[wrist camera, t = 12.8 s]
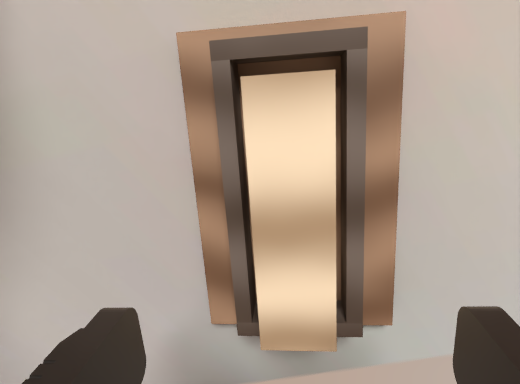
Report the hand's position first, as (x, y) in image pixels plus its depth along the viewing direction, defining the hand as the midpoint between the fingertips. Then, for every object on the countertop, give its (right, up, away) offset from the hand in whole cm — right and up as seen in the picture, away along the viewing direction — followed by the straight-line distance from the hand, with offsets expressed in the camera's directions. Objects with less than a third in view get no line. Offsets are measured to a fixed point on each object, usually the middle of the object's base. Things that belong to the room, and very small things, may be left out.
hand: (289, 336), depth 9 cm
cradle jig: (+2, +4, +15) cm, 15 cm away
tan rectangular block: (+1, +4, +13) cm, 14 cm away
